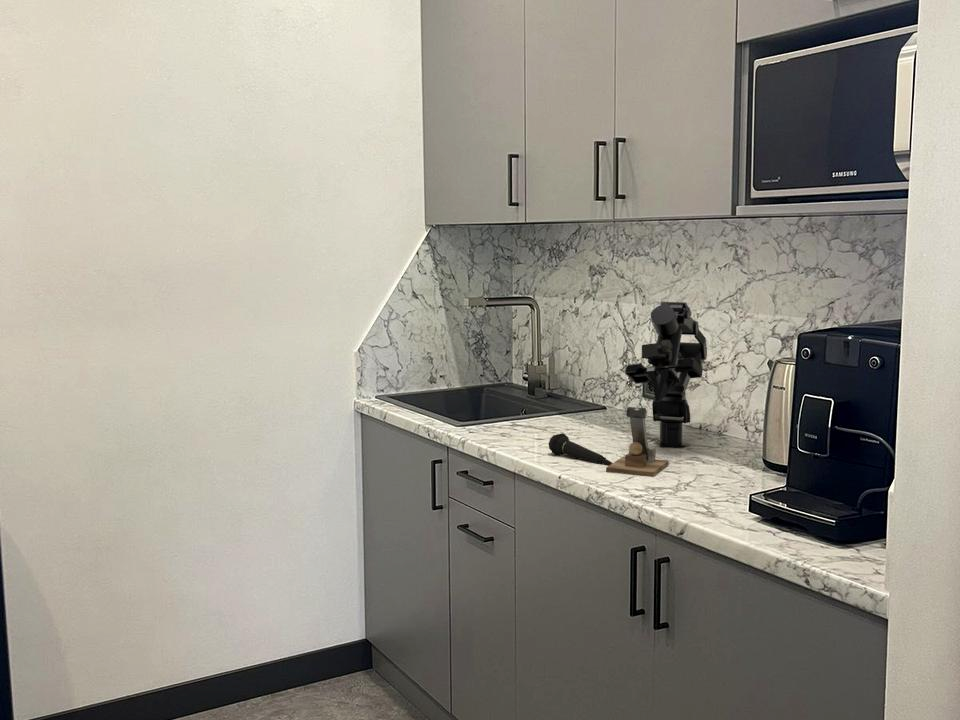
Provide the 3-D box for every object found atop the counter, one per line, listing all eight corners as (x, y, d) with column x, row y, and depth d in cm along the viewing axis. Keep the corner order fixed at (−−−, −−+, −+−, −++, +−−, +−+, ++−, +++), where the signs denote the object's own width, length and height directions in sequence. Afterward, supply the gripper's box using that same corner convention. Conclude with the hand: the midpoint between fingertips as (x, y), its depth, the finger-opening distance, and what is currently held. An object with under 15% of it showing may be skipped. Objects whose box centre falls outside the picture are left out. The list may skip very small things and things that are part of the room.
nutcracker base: (623, 460, 233) (623, 433, 232) (668, 464, 228) (669, 437, 227) (606, 471, 221) (606, 443, 221) (653, 476, 217) (653, 448, 216)
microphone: (616, 478, 229) (555, 454, 243) (624, 454, 229) (562, 432, 243) (602, 475, 225) (541, 451, 239) (610, 451, 225) (548, 428, 239)
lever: (635, 455, 230) (628, 404, 223) (652, 456, 228) (645, 406, 221) (632, 461, 228) (626, 410, 221) (649, 463, 226) (643, 411, 219)
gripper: (619, 333, 244) (608, 388, 237) (687, 324, 232) (677, 381, 225) (640, 355, 251) (630, 409, 244) (707, 347, 239) (698, 404, 232)
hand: (657, 401), depth 236 cm, fingers closed
